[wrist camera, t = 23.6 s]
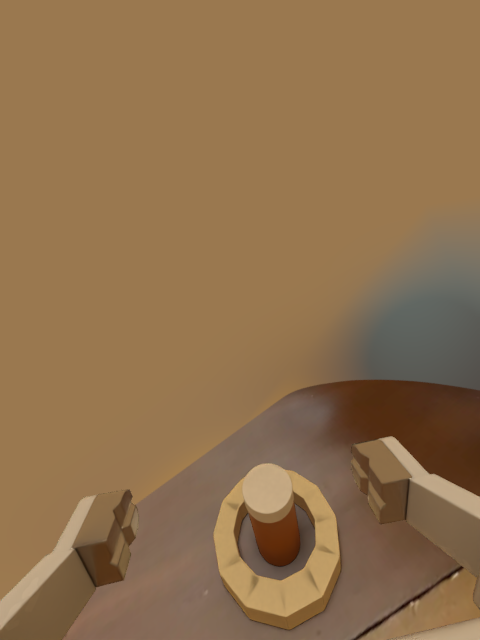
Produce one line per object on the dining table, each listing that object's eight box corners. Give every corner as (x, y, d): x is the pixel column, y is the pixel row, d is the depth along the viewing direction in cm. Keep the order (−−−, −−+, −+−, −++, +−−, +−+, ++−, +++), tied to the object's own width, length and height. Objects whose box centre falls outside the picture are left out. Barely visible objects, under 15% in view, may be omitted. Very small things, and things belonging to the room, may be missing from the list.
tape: (210, 504, 34) (206, 493, 33) (299, 466, 36) (297, 454, 35) (236, 660, 21) (231, 647, 20) (369, 584, 24) (369, 570, 23)
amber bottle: (247, 546, 28) (231, 494, 25) (271, 505, 32) (260, 455, 29) (287, 580, 25) (275, 525, 22) (308, 530, 29) (301, 477, 26)
